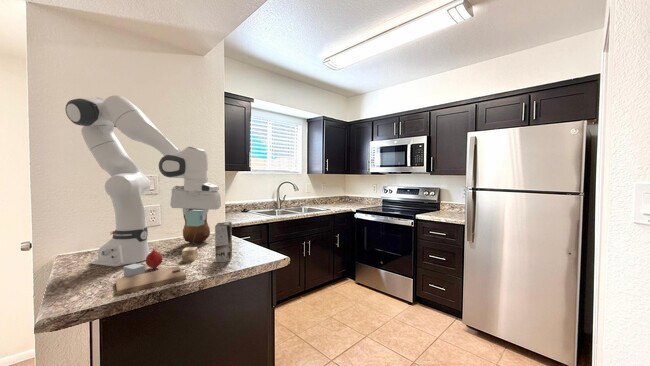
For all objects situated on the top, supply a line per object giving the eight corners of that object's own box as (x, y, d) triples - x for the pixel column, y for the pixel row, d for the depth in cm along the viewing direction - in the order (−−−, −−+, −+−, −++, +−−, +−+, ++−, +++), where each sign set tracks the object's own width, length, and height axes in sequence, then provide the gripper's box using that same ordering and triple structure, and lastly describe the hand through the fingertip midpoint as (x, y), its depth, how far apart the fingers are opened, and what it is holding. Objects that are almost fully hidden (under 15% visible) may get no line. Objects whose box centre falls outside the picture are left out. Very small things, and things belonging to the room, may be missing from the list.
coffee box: (230, 261, 117) (230, 225, 117) (215, 262, 116) (214, 226, 115) (232, 255, 126) (232, 221, 126) (218, 256, 125) (217, 222, 124)
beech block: (182, 261, 117) (181, 250, 117) (186, 258, 122) (185, 247, 122) (194, 261, 118) (194, 250, 118) (197, 257, 123) (197, 246, 123)
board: (117, 295, 85) (117, 288, 85) (115, 283, 94) (115, 277, 94) (186, 278, 98) (186, 273, 98) (178, 269, 107) (178, 264, 107)
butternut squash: (194, 239, 155) (193, 197, 154) (215, 241, 152) (214, 197, 151) (176, 246, 141) (175, 199, 140) (199, 247, 139) (198, 200, 138)
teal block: (186, 225, 109) (186, 211, 108) (193, 223, 114) (193, 209, 113) (198, 226, 108) (198, 211, 108) (204, 224, 113) (204, 210, 113)
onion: (143, 269, 108) (142, 249, 108) (158, 265, 113) (157, 246, 112) (150, 272, 105) (149, 252, 104) (165, 267, 110) (165, 248, 109)
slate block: (124, 277, 100) (123, 266, 100) (135, 273, 104) (134, 263, 104) (133, 279, 98) (133, 269, 98) (144, 275, 102) (144, 265, 101)
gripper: (167, 185, 108) (166, 219, 108) (215, 187, 107) (215, 221, 107) (176, 185, 114) (176, 217, 115) (222, 186, 113) (222, 219, 113)
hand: (195, 219), depth 111 cm, fingers closed on teal block, 5 cm apart
